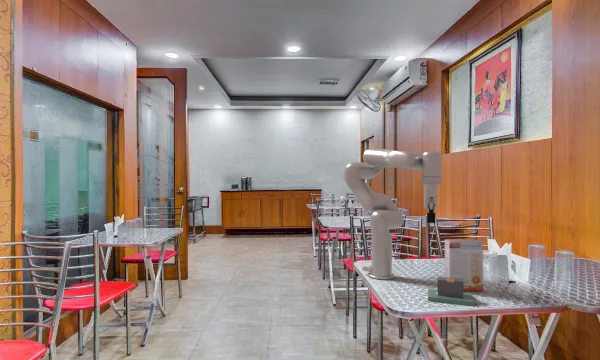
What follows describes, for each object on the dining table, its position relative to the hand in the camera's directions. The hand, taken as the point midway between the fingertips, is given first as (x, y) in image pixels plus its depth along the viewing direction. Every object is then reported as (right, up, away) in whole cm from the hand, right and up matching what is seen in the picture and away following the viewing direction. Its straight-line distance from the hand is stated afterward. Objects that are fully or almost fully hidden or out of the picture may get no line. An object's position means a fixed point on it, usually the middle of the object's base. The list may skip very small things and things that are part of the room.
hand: (431, 221), depth 153 cm
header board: (+3, -28, -13) cm, 31 cm away
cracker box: (+14, -29, +1) cm, 32 cm away
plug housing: (+3, -27, -13) cm, 30 cm away
